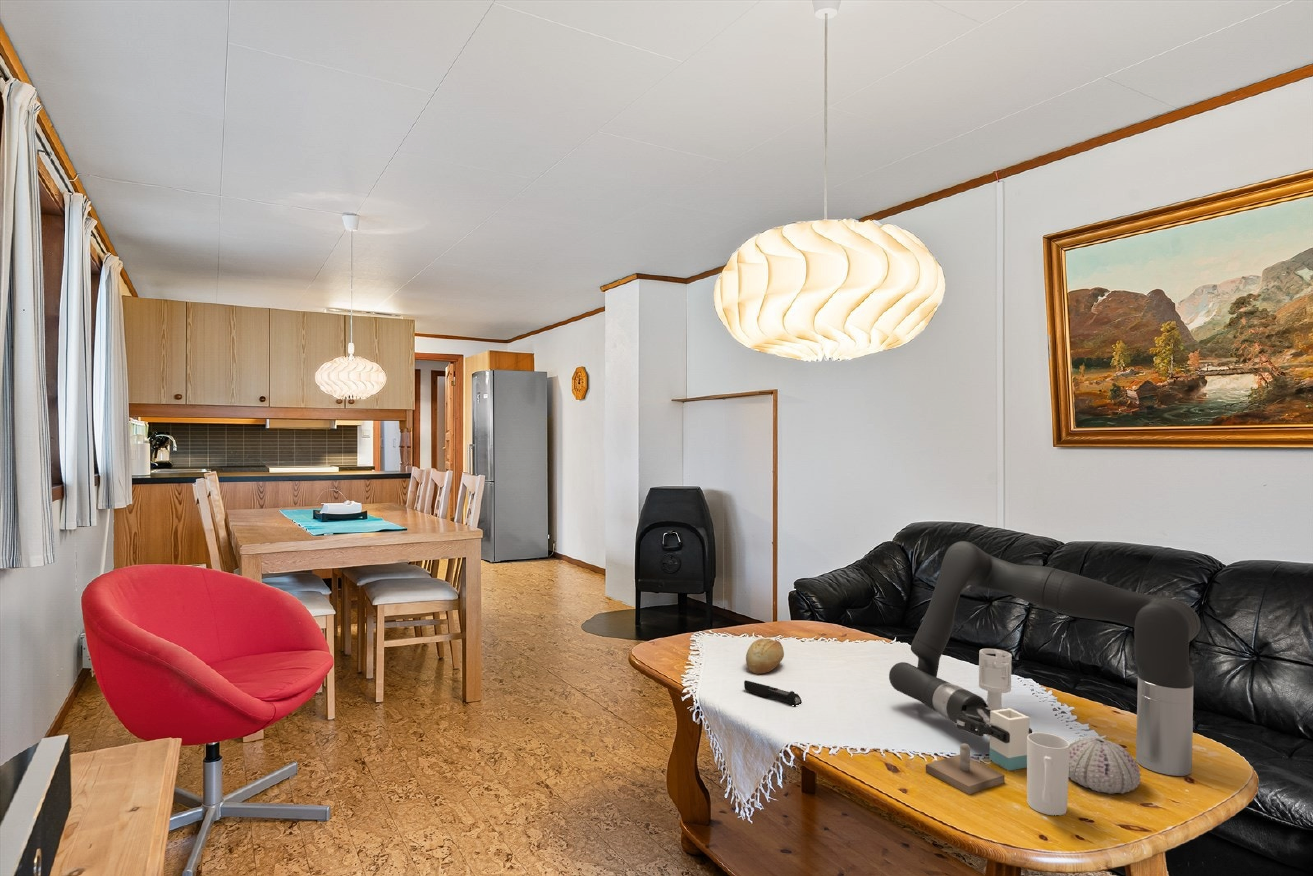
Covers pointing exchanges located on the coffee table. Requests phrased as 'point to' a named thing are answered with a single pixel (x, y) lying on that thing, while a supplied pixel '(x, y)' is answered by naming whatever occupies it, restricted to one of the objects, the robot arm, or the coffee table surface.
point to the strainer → (995, 675)
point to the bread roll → (764, 655)
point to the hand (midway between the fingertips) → (1019, 736)
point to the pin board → (965, 772)
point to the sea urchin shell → (1102, 766)
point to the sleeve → (1016, 749)
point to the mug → (1047, 773)
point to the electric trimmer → (772, 693)
